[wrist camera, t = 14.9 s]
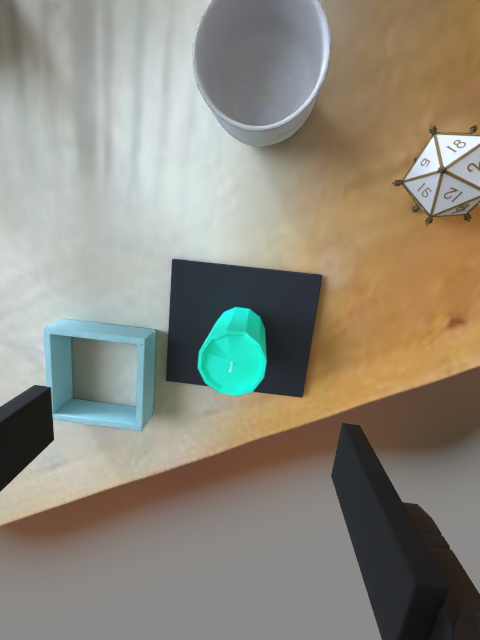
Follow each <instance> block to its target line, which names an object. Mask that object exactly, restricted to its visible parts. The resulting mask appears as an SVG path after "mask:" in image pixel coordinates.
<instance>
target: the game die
mask: <svg viewBox="0 0 480 640" xmlns="http://www.w3.org/2000/svg"><path fill="white" fill-rule="evenodd" d="M436 129H437V128H436V126H434V125H432V124H430V129H429V131H430V133H432V136H431V138H430V139H429V141H428V142H427V144H426V145H425V147H424V148H423V150H422V151H421V153H420V154H419V156H418V157H416V158H414V163H413V165H412V166H411V168H410V169H409V171H408V172H407V174H406V175H405V177H404V178H403V180H402V181H401V180H396V181H395V182H393V183H392V184H393V185H395V186H399V185H401V184H402V185H403V186H404V188H405V189H406V190H407V192H408V193H409V195H410V196H411V198H412V199H413V200H414V202H415V203H416V205H417V206H415V207H413V212H417V210H418V209H419V208H420V209H421V210H422V211H424V212H425V213H426V214H427V215H428V216H429V217H428V218H427V219H426V221H425V222H426V226H427V225H428V224H430V223H432V221H433V217H442V216H453V215H464V218H465V219H464V220H466V221H470V219H471V218H472V217H470V216H471V215H469V214H468V213H469V212H470V211H471V210H472V209H473V208H474V207H475V206H476V205H477V204H479V203H480V134H478V133H475V132H476V130H477V129H478V128H477V126H476V125H475V126H473V127H471V128H470V130H469V131H470V133H437V132H436Z"/></svg>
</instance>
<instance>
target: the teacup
mask: <svg viewBox="0 0 480 640" xmlns="http://www.w3.org/2000/svg"><path fill="white" fill-rule="evenodd" d="M330 56H331V33H330V27H329V22H328V19H327V16H326V14H325V11H324V9H323V6H322V4H321V3H320V1H319V0H211V1H210V3H209V4H208V5H207V7H206V9H205V11H204V12H203V15H202V17H201V19H200V22H199V24H198V27H197V30H196V34H195V38H194V44H193V67H194V74H195V78H196V82H197V85H198V88H199V90H200V93H201V94H202V96H203V98H204V100H205V102H206V103H207V104H208V106H209V107H210V108H211V110H212V112H213V114H214V115H215V117H216V119H217V120H218V122H219V123H220V124H221V126H222V127H223V128H224V129H225V130H226V131H227V132H228V133H229V134H230V135H231V136H233V137H234V138H236V139H237V140H239V141H241V142H243V143H246V144H249V145H254V146H268V145H273V144H276V143H279V142H281V141H283V140H285V139H287V138H289V137H290V136H291V135H293V134H294V133H295V132H296V131H297V130H298V129H299V128H300V127H301V126H302V125H303V124H304V122H305V121H306V120H307V118H308V117H309V115H310V113H311V112H312V110H313V108H314V105H315V103H316V101H317V98H318V95H319V92H320V89H321V87H322V85H323V83H324V80H325V77H326V74H327V71H328V67H329V63H330Z"/></svg>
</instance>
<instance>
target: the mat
mask: <svg viewBox="0 0 480 640" xmlns="http://www.w3.org/2000/svg"><path fill="white" fill-rule="evenodd" d="M321 280H322V275H318V274H309V273H300V272H290V271H281V270H272V269H262V268H253V267H244V266H234V265H225V264H216V263H206V262H197V261H188V260H179V259H172V274H171V294H170V315H169V335H168V355H167V375H166V381H172V382H180V383H188V384H197V385H205V386H209V385H207V384H206V383H205V382H204V380H203V378H202V376H201V374H200V372H199V370H198V357H199V350H200V349H201V347H202V345H203V344H204V342H205V340H206V339H207V337H208V335H209V333H210V332H211V330H212V328H213V327H214V325H215V323H216V322H217V320H218V319H219V318H220V316H221V315H222V314H223V313H224V312H225V311H228V310H230V309H232V308H235V307H240V308H247V309H250V310H252V311H253V312H254V313H256V314H257V315H258V316H260V318H261V320H262V323H263V325H264V328H265V338H266V357H267V362H266V369H265V375H264V378H263V380H262V381H261V382H260V383H259V385H258V386H257V387H256V388H255V390H254V391H253V392H261V393H270V394H278V395H286V396H294V397H302V396H303V390H304V384H305V378H306V372H307V366H308V360H309V353H310V347H311V341H312V335H313V329H314V323H315V317H316V310H317V304H318V298H319V292H320V286H321Z"/></svg>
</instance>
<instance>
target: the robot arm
mask: <svg viewBox="0 0 480 640" xmlns="http://www.w3.org/2000/svg"><path fill="white" fill-rule="evenodd" d="M53 440H54V433H53V413H52V393H51V387H47V386H39V385H34V386H32V387H31V388H29V389H28V390H26V391H25V392H23V393H21V394H20V395H18V396H17V397H15V398H14V399H12V400H10V401H9V402H7V403H6V404H4V405H3V406H1V407H0V491H1V490H2V489H4V488H5V487H6V486H7V485H8V484H9V483H10V482H11V481H12V480H13V479H14V478H15V477H16V476H17V475H18V474H19V473H20V472H21V471H22V470H23V469H24V468H25V467H26V466H27V465H28V464H29V463H31V462H32V461H33V460H34V459H35V458H36V457H37V456H38V455H39V454H40V453H41V452H42V451H43V450H44V449H45V448H46V447H47V446H48V445H49V444H50V443H51V442H52V441H53ZM331 477H332V480H333V483H334V486H335V489H336V493H337V496H338V499H339V503H340V506H341V509H342V512H343V515H344V519H345V521H346V525H347V528H348V532H349V534H350V538H351V541H352V544H353V548H354V551H355V554H356V557H357V561H358V564H359V567H360V570H361V574H362V576H363V580H364V583H365V586H366V589H367V592H368V596H369V599H370V602H371V606H372V609H373V612H374V615H375V619H376V621H377V625H378V628H379V632H380V634H381V638H382V640H480V594H479V593H478V591H477V589H476V588H475V586H474V585H473V583H472V581H471V580H470V578H469V577H468V575H467V574H466V572H465V570H464V569H463V567H462V565H461V564H460V562H459V561H458V559H457V557H456V556H455V554H454V553H453V551H452V550H450V548H449V547H450V546H449V545H448V543H447V542H446V540H445V539H444V537H443V536H442V535H441V532H440V530H439V529H438V527H437V526H436V524H435V522H434V521H433V520H432V518H431V517H430V516H429V515H428V514H427V513H426V512H425V511H424V510H423V509H422V508H421V507H419V505H418V504H412V503H403V502H402V501H401V499H400V497H399V496H398V494H397V492H396V490H395V489H394V487H393V485H392V483H391V481H390V479H389V477H388V476H387V474H386V472H385V470H384V468H383V467H382V465H381V463H380V461H379V459H378V458H377V456H376V454H375V452H374V450H373V448H372V447H371V445H370V443H369V441H368V439H367V438H366V436H365V434H364V432H363V430H362V429H361V427H360V425H353V424H345V423H342V427H341V431H340V436H339V441H338V446H337V451H336V456H335V460H334V465H333V470H332V475H331Z"/></svg>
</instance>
